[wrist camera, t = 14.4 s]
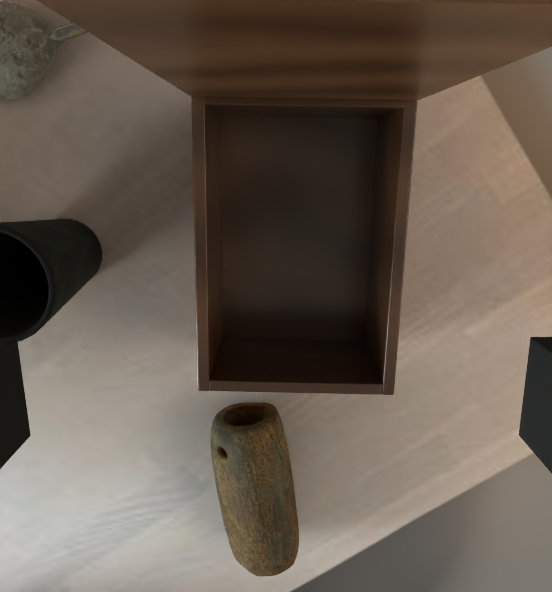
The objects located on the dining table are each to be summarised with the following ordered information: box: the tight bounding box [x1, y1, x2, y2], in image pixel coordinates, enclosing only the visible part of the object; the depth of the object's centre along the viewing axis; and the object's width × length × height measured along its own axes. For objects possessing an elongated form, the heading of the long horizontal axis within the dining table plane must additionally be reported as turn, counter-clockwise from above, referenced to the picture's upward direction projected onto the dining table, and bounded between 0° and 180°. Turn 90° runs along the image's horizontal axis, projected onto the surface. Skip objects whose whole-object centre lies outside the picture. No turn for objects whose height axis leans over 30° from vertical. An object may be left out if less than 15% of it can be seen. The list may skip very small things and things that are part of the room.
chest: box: [192, 96, 417, 395], centre depth 39 cm, size 20×14×10 cm
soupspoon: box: [0, 2, 87, 101], centre depth 39 cm, size 22×3×7 cm
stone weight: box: [211, 403, 299, 576], centre depth 46 cm, size 15×7×7 cm, turn 11°
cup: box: [0, 219, 102, 342], centre depth 38 cm, size 8×8×12 cm
